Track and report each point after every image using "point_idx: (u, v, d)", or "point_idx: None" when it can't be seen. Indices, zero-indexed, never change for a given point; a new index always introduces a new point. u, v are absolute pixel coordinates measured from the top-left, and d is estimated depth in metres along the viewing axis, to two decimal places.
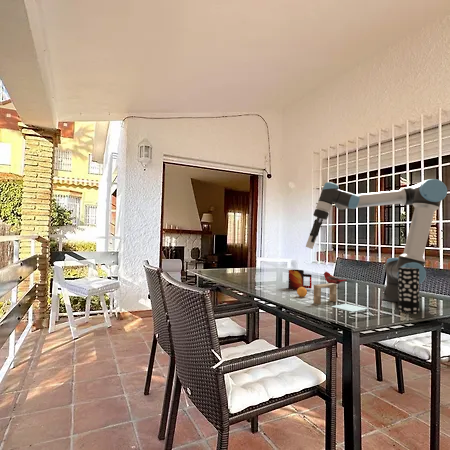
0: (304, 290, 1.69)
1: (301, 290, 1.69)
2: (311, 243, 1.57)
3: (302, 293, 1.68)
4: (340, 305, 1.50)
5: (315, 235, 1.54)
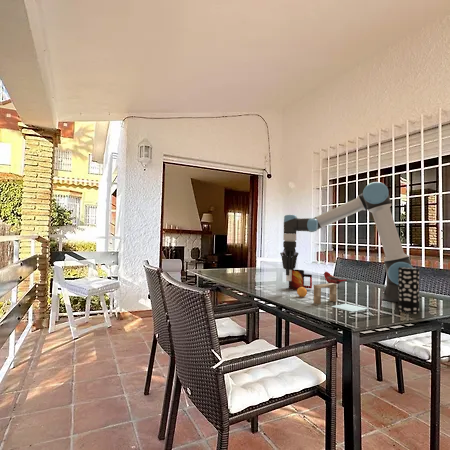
0: (304, 290, 1.69)
1: (301, 290, 1.69)
2: (288, 276, 1.79)
3: (302, 293, 1.68)
4: (340, 305, 1.50)
5: (286, 269, 1.78)
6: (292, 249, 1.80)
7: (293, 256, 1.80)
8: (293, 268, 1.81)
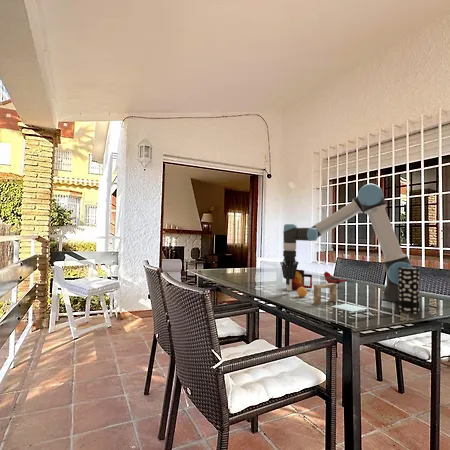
0: (304, 290, 1.69)
1: (301, 290, 1.69)
2: (288, 285, 1.79)
3: (302, 293, 1.68)
4: (340, 305, 1.50)
5: (286, 278, 1.78)
6: (292, 258, 1.80)
7: (293, 265, 1.79)
8: (293, 277, 1.81)
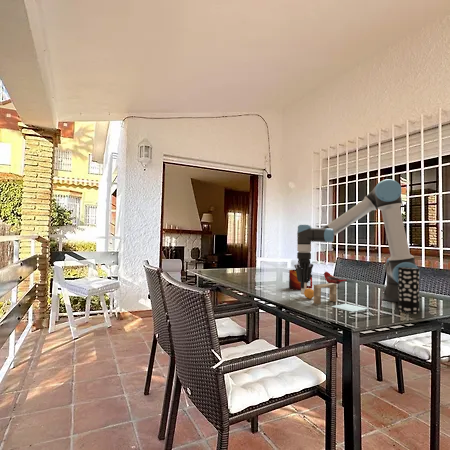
0: (310, 298, 1.65)
1: (308, 296, 1.64)
2: (302, 289, 1.70)
3: (306, 297, 1.66)
4: (340, 305, 1.50)
5: (300, 281, 1.69)
6: (307, 261, 1.71)
7: (308, 268, 1.70)
8: None
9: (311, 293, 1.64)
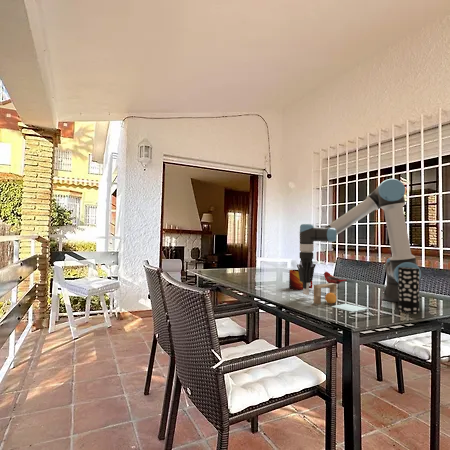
0: (334, 298, 1.52)
1: (331, 298, 1.52)
2: (305, 289, 1.68)
3: (331, 301, 1.52)
4: (340, 305, 1.50)
5: (303, 281, 1.67)
6: (309, 260, 1.69)
7: (310, 268, 1.68)
8: (310, 281, 1.70)
9: (330, 293, 1.54)
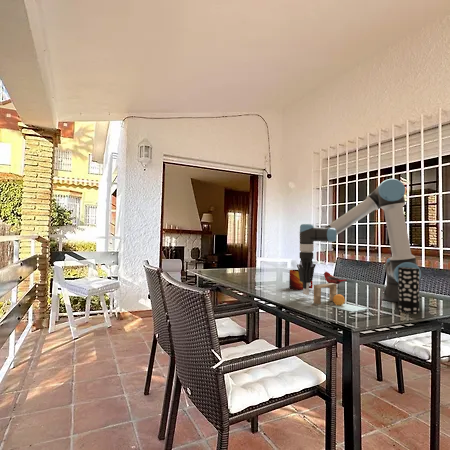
0: None
1: (336, 304, 1.49)
2: (305, 289, 1.68)
3: (334, 302, 1.51)
4: None
5: (303, 281, 1.67)
6: (309, 260, 1.69)
7: (310, 268, 1.68)
8: (310, 281, 1.70)
9: (341, 303, 1.48)
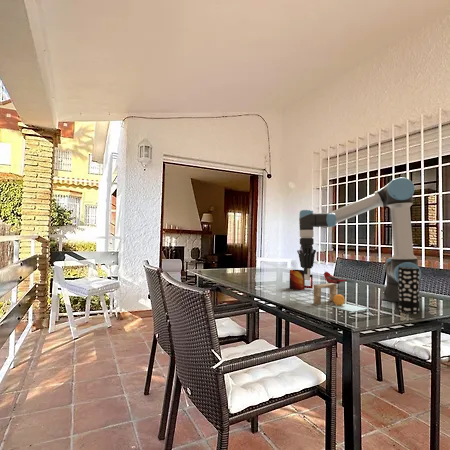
0: None
1: (336, 304, 1.49)
2: (306, 275, 1.68)
3: (334, 302, 1.51)
4: None
5: (303, 267, 1.67)
6: (309, 246, 1.69)
7: (311, 254, 1.69)
8: None
9: (341, 303, 1.48)
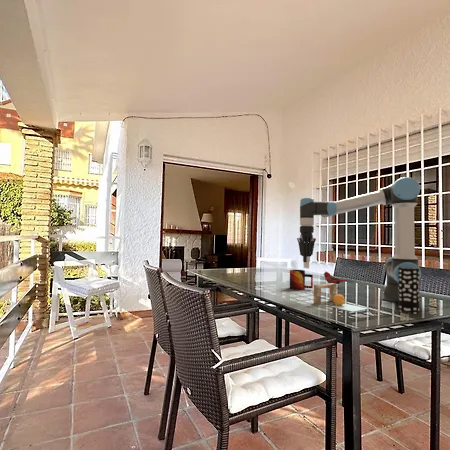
0: None
1: (336, 304, 1.49)
2: (305, 263, 1.69)
3: (334, 302, 1.51)
4: None
5: (303, 255, 1.67)
6: (309, 234, 1.69)
7: (310, 242, 1.69)
8: (310, 255, 1.70)
9: (341, 303, 1.48)
